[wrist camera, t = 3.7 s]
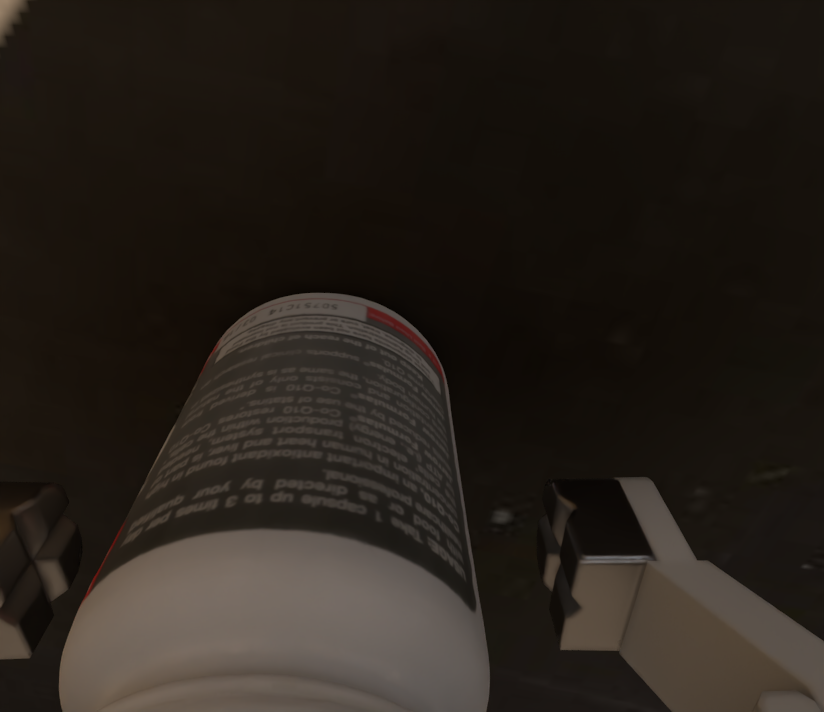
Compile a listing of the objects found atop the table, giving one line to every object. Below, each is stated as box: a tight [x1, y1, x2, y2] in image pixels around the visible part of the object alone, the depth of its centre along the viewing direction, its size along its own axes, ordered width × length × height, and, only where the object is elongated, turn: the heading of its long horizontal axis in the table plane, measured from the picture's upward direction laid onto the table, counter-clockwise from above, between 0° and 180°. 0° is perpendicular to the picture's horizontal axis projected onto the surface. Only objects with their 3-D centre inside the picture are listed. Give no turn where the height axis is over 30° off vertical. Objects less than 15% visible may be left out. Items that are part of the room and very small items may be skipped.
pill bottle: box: [59, 293, 490, 712], centre depth 8 cm, size 5×5×8 cm
